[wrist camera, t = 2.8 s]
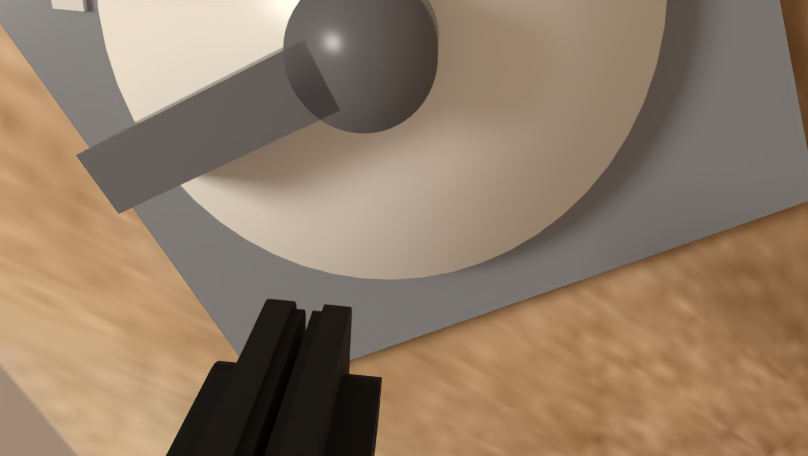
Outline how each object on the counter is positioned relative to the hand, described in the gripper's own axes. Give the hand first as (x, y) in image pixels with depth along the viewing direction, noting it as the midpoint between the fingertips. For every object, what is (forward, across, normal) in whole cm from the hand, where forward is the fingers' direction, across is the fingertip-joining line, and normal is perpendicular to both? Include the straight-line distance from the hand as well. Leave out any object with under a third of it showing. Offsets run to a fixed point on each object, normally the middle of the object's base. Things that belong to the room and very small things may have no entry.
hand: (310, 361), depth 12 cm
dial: (+9, 0, -5) cm, 11 cm away
